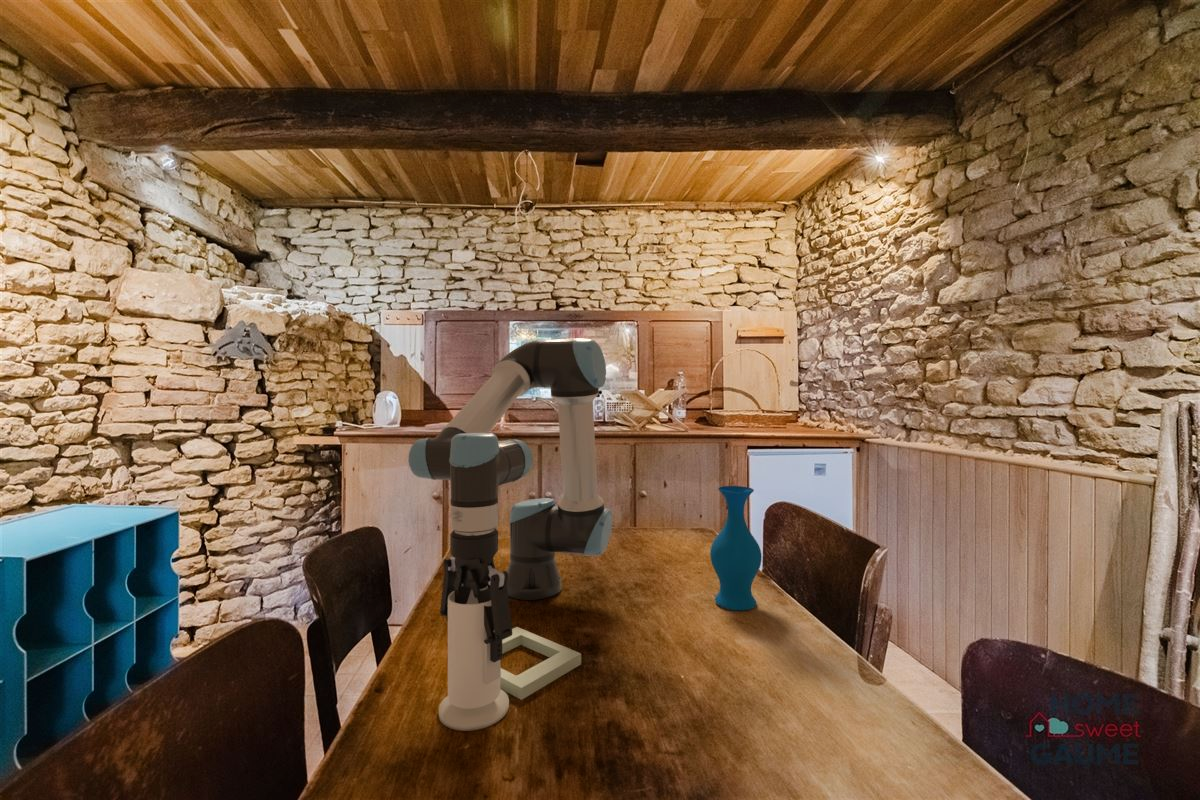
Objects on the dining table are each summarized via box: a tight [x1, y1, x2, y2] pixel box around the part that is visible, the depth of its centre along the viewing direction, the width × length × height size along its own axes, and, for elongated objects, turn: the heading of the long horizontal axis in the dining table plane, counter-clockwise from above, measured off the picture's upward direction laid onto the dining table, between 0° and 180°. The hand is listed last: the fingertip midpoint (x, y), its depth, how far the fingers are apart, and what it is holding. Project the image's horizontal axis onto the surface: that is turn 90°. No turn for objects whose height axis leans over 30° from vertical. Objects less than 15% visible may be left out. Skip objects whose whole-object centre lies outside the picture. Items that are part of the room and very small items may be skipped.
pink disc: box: [438, 689, 510, 732], centre depth 84 cm, size 11×11×1 cm
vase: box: [709, 485, 763, 612], centre depth 127 cm, size 12×13×28 cm
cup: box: [447, 586, 500, 709], centre depth 84 cm, size 8×8×16 cm
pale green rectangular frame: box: [500, 626, 582, 701], centre depth 98 cm, size 18×15×2 cm
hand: (474, 670), depth 84 cm, fingers closed on cup, 8 cm apart
